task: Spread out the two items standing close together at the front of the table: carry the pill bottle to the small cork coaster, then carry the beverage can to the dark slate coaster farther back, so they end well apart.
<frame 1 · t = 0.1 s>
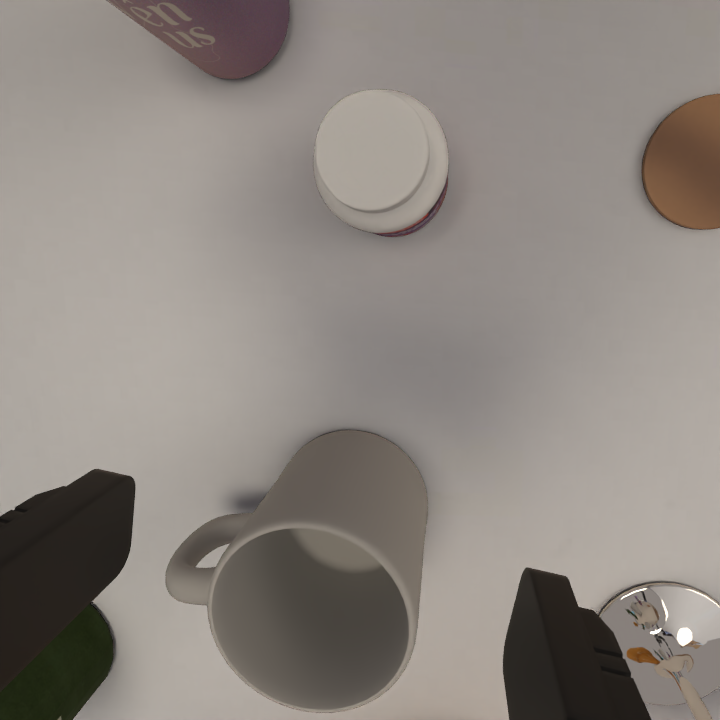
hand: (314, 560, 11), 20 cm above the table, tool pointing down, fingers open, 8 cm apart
wineglass: (660, 640, 31), on the table
mug: (325, 498, 33), on the table
beverage can: (237, 20, 28), on the table
wine bottle: (63, 636, 38), on the table
pill bottle: (395, 183, 29), on the table
cork coaster: (709, 163, 26), on the table
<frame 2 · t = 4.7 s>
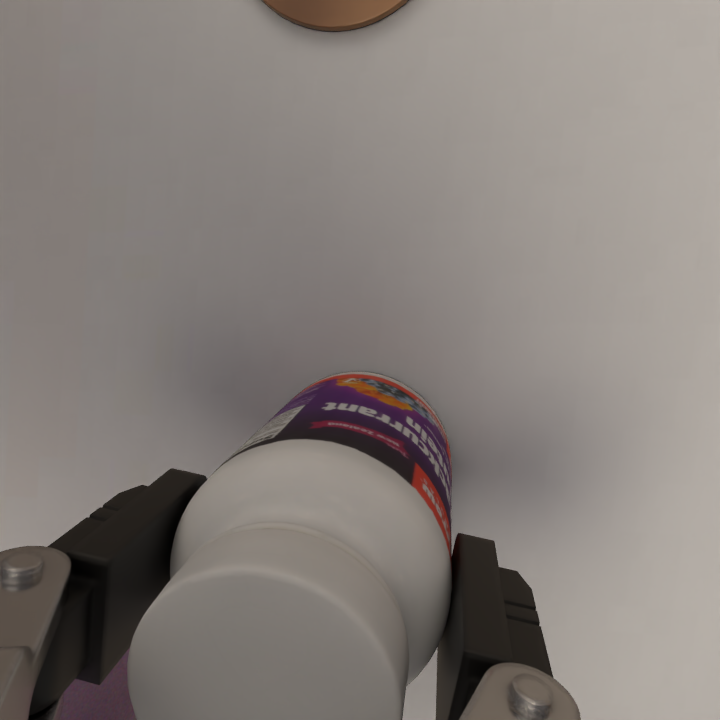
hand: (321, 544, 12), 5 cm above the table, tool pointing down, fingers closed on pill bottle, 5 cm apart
beverage can: (140, 654, 20), on the table
pill bottle: (362, 450, 17), on the table, touching gripper
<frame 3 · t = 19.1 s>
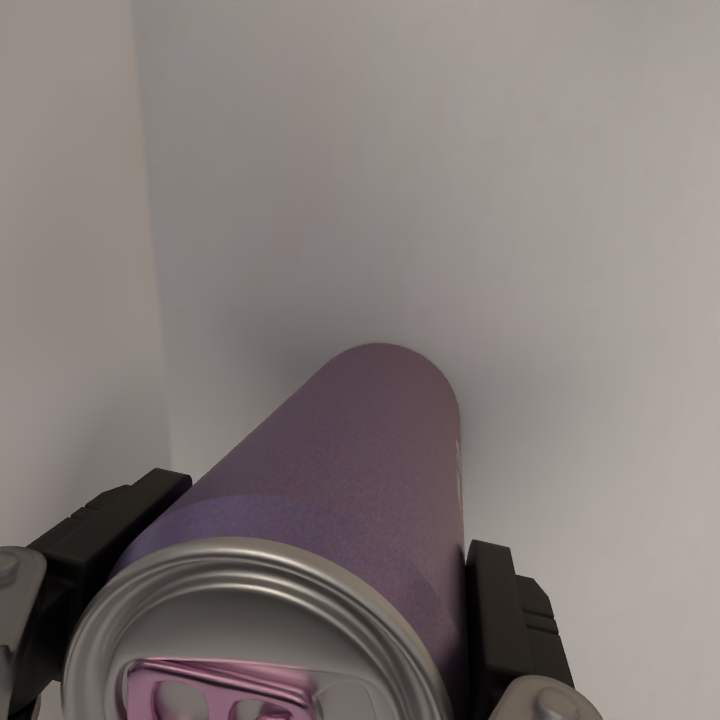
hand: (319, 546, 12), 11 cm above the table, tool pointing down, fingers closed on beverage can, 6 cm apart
beverage can: (383, 413, 22), on the table, touching gripper
when the fingers open (11 cm above the table, at t = 26.9 s): beverage can stays where it is, resting on slate coaster.
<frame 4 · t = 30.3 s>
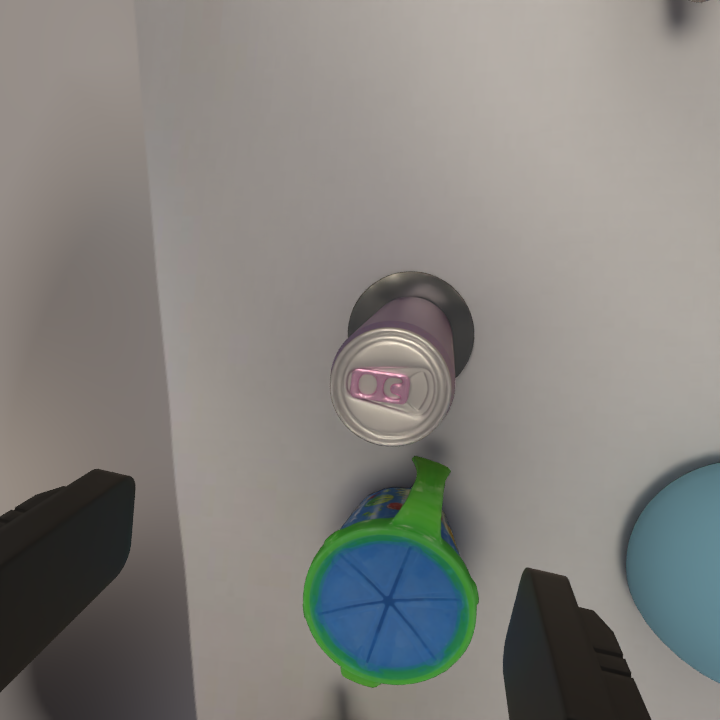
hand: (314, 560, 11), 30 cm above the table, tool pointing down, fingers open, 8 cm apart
beverage can: (410, 337, 40), resting on slate coaster
slate coaster: (410, 334, 40), on the table
sippy cup: (401, 526, 44), on the table
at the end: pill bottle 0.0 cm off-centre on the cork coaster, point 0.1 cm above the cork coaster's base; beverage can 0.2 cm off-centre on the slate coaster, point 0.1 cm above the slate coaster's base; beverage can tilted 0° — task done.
